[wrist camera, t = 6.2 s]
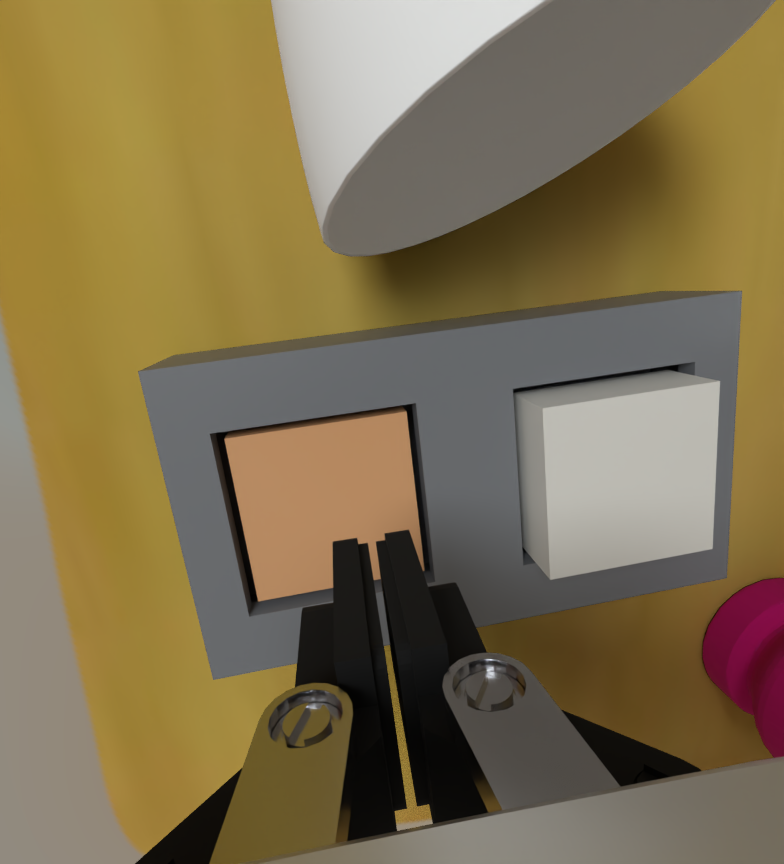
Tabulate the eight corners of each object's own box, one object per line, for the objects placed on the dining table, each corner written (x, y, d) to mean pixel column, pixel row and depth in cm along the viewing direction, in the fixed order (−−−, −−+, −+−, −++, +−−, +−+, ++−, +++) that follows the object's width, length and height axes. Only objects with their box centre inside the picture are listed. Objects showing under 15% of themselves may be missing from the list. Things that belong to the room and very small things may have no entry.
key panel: (661, 291, 20) (741, 290, 17) (657, 530, 23) (726, 578, 19) (173, 355, 18) (137, 371, 15) (230, 609, 21) (213, 679, 17)
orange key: (394, 397, 19) (406, 411, 16) (411, 539, 20) (424, 570, 18) (235, 420, 18) (224, 438, 16) (264, 565, 19) (258, 601, 17)
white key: (667, 369, 18) (720, 380, 16) (664, 518, 19) (712, 549, 17) (511, 393, 17) (542, 408, 15) (520, 544, 19) (550, 579, 16)
